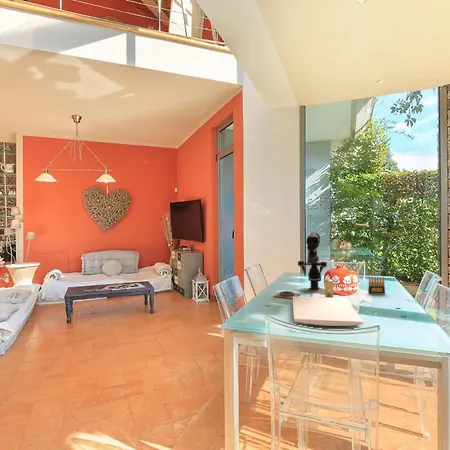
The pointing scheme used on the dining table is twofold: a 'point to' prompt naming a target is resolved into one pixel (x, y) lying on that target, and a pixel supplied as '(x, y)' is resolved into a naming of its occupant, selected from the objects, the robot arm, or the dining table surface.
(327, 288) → the brass roller
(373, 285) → the ammunition clip
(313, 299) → the board
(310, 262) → the robot arm
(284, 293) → the collar plate
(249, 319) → the dining table surface
